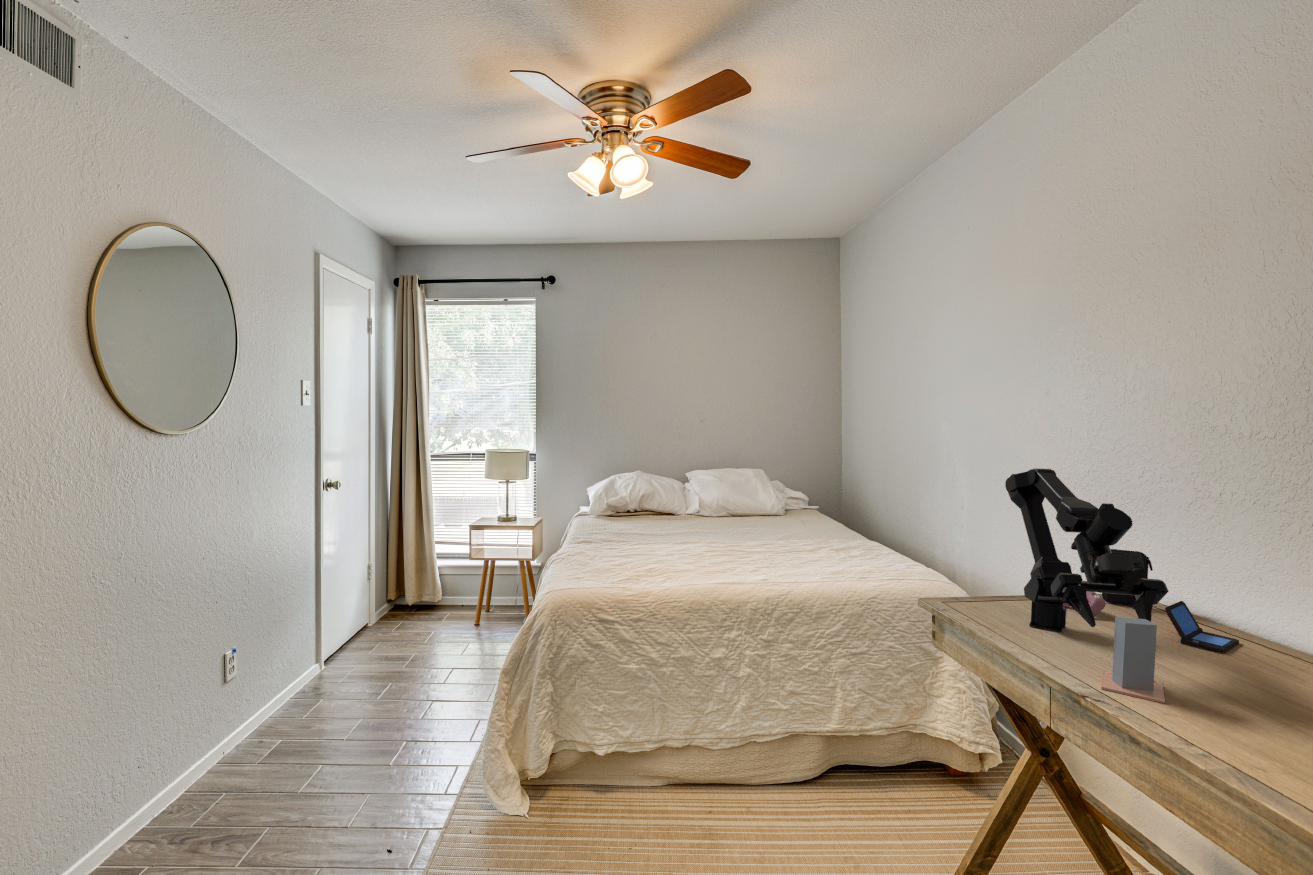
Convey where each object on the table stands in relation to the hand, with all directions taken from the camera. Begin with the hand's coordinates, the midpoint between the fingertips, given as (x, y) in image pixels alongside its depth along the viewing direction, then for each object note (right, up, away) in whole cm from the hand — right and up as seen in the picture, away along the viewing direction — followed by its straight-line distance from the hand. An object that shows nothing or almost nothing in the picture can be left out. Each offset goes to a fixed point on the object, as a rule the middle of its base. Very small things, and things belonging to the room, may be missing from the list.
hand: (1120, 628), depth 119 cm
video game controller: (+21, -9, +41) cm, 47 cm away
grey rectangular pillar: (-1, -9, -4) cm, 10 cm away
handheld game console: (+34, -10, +21) cm, 41 cm away
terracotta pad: (-1, -10, -4) cm, 11 cm away
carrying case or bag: (+37, -9, +48) cm, 61 cm away
